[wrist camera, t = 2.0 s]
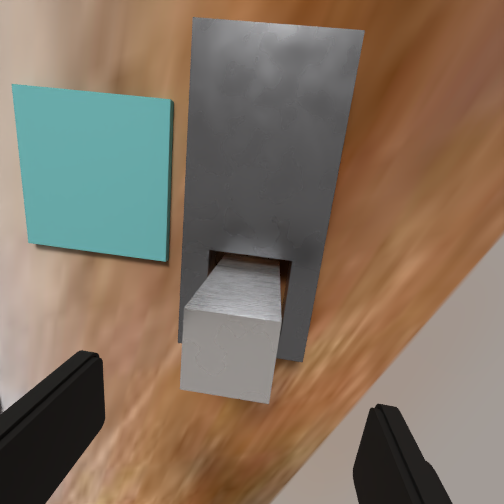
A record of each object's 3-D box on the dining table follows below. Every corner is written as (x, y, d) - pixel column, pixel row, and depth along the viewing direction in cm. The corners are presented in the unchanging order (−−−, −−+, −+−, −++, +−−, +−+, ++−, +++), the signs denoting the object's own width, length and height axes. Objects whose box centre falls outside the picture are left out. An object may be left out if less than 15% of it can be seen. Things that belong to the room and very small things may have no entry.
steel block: (272, 309, 22) (268, 404, 13) (221, 302, 22) (180, 389, 13) (279, 260, 21) (281, 322, 11) (225, 253, 21) (183, 308, 12)
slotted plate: (299, 343, 23) (302, 362, 20) (188, 326, 23) (177, 342, 21) (352, 52, 17) (364, 30, 15) (204, 40, 18) (192, 17, 15)
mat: (168, 259, 22) (165, 261, 21) (34, 241, 23) (28, 242, 22) (173, 102, 19) (170, 99, 18) (19, 86, 20) (11, 84, 19)
